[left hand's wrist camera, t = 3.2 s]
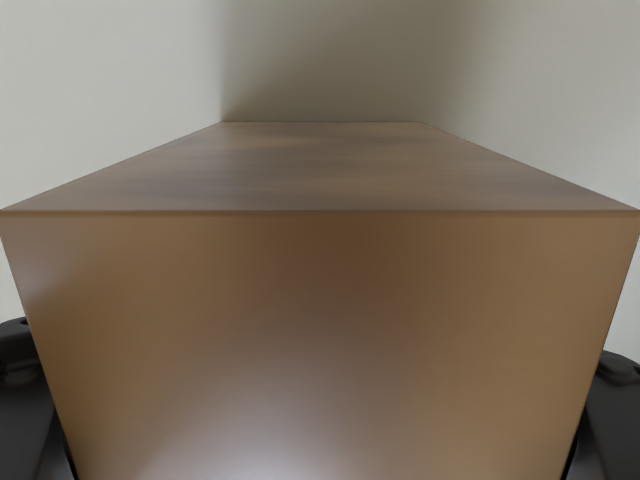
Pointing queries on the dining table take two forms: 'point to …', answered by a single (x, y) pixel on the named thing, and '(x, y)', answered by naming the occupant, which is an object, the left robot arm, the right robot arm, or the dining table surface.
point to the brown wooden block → (319, 306)
